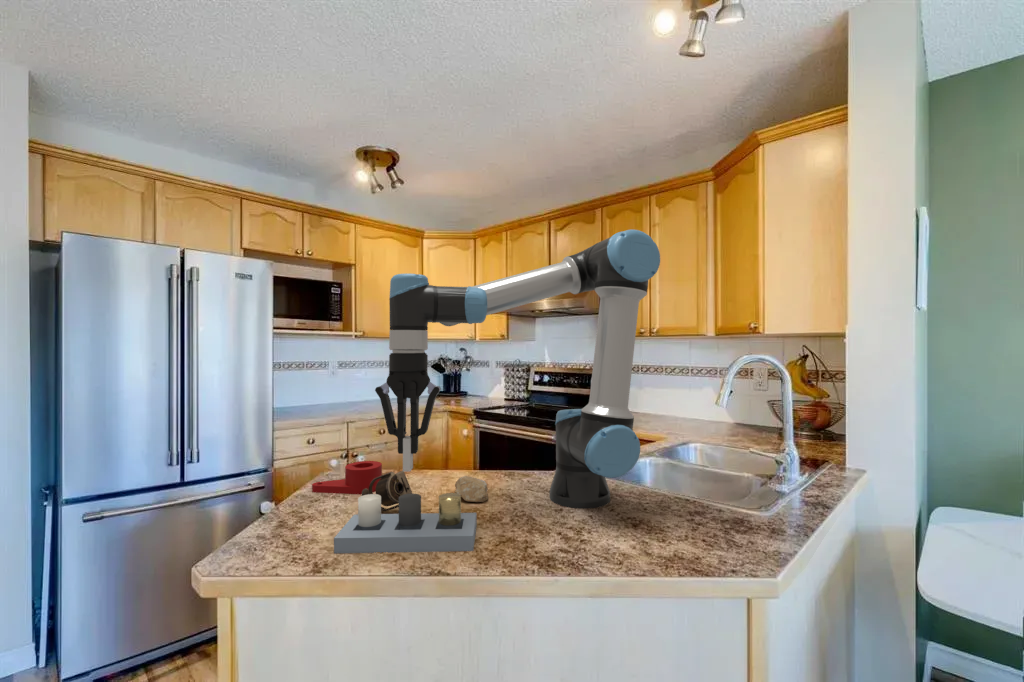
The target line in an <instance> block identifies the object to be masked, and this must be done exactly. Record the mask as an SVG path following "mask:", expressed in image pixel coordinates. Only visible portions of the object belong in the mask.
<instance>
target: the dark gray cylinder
mask: <svg viewBox="0 0 1024 682" xmlns="http://www.w3.org/2000/svg"><path fill="white" fill-rule="evenodd" d="M398 505H399V507H398V514H399V525H401V526H414V525H417V524H419V523H421V513H422V495H421V494H419V493H412V494H404V495H401V496H399V503H398Z"/></svg>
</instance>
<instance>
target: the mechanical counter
mask: <svg viewBox="0 0 1024 682" xmlns="http://www.w3.org/2000/svg"><path fill="white" fill-rule="evenodd" d="M380 478H381V479H380ZM377 479H380V480H379V481H378V483H377V485H376V492H375V494H378V495H380V496H381V512H388V511H392V510H395V509H399V496H401V495H404V494H413V491H412V489H411V486H410V483H409V481H408V478H407V476H406V472H403V470H400V471H398V472H395V471H389V472H387V473H384V474H382V475H381V476H379V477H376V478H375V479H373V480H372V481H371V483H370V485H369V490H368V489H367V488H365V489H363V490H362V494H361V496H363V495H368V494H374V492H372V487H373V484H374V482H375V481H376V480H377ZM383 506H384V507H383ZM385 507H387V508H385ZM388 507H389V508H388Z"/></svg>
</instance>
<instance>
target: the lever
mask: <svg viewBox="0 0 1024 682" xmlns="http://www.w3.org/2000/svg"><path fill="white" fill-rule="evenodd" d="M382 465H383V464H382V462H380V461H376V460H363V461H356V462H351V463H348V464H346V465H345V466H344V475H345V476H344V477H345V478H343V479H333V480H322V481H316V482H313V483H312V484H311V492H312V493H315V494H317V493H318V494H320V493H321V494H339V495H340V494H341V495H342V494H343V495H362V490H363V489H365V488H367V489H368V490H369V485H370V483H371V481H372V480H373V479H375V478H376V477H379V476H381V475H383V470H382V469H383V466H382ZM380 479H381V478H380ZM380 479H377V480H376V481H375V482H374V484H373V487H372V492H373V493H376V485H377V483H378V481H379V480H380Z"/></svg>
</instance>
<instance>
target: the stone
mask: <svg viewBox="0 0 1024 682" xmlns="http://www.w3.org/2000/svg"><path fill="white" fill-rule="evenodd" d="M454 486H455V487H454V488H455V490H454V493H457V494H460V495H461V499H463V500H464V501H465V502H471V503H480V502H481V503H484V502H486V501H487V500H488V499H489V495H488V490H489V489H488V484H487V482H486V481H485V480H483V479H480V478H477V477H473V476H468V475H464V476H460V477H459V478H458V479H457V480H456V481H455V483H454Z"/></svg>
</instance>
